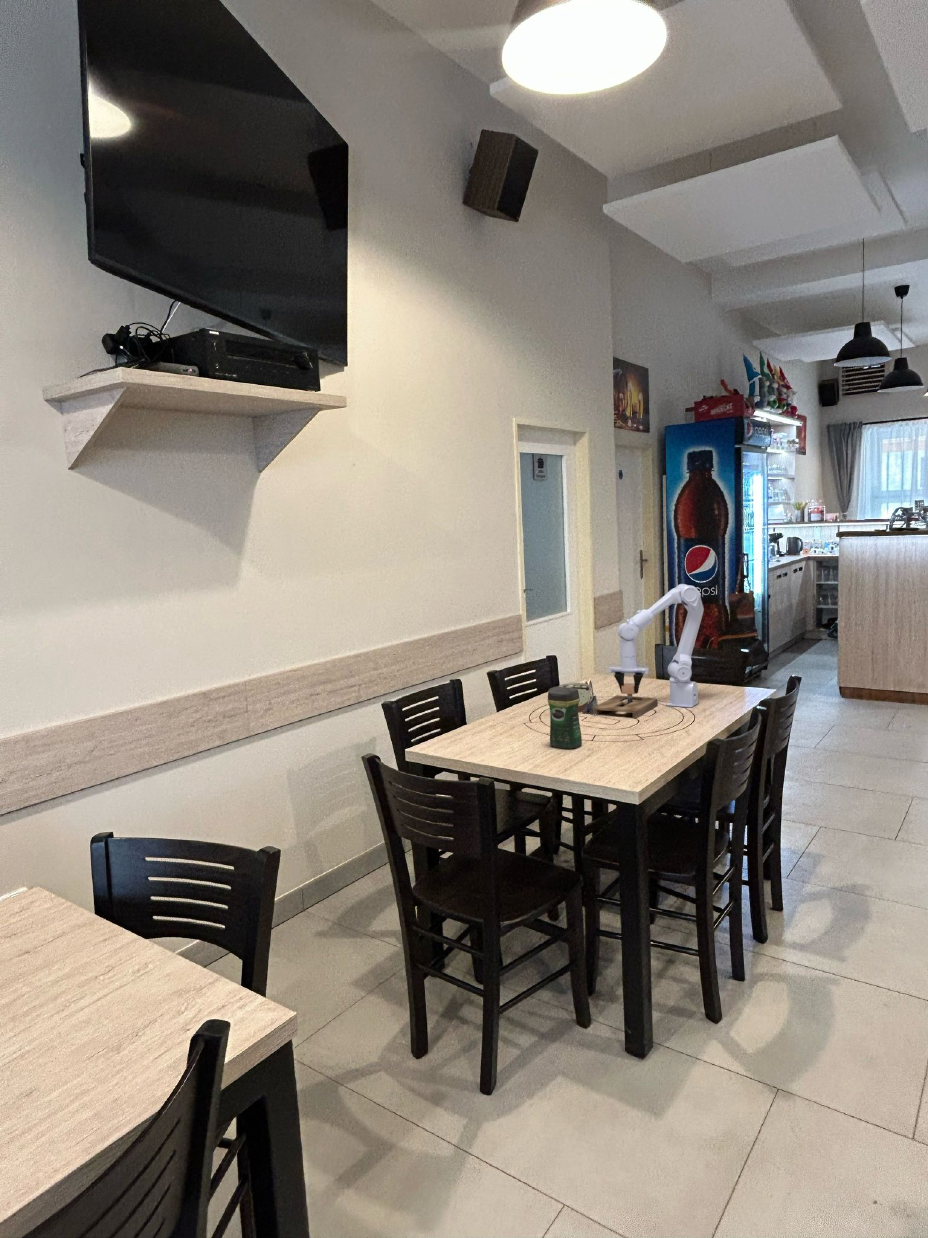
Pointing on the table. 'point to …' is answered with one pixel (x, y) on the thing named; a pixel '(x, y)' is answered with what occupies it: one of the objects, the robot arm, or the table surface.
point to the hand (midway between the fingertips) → (629, 692)
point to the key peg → (628, 691)
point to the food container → (580, 693)
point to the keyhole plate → (635, 708)
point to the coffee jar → (564, 717)
